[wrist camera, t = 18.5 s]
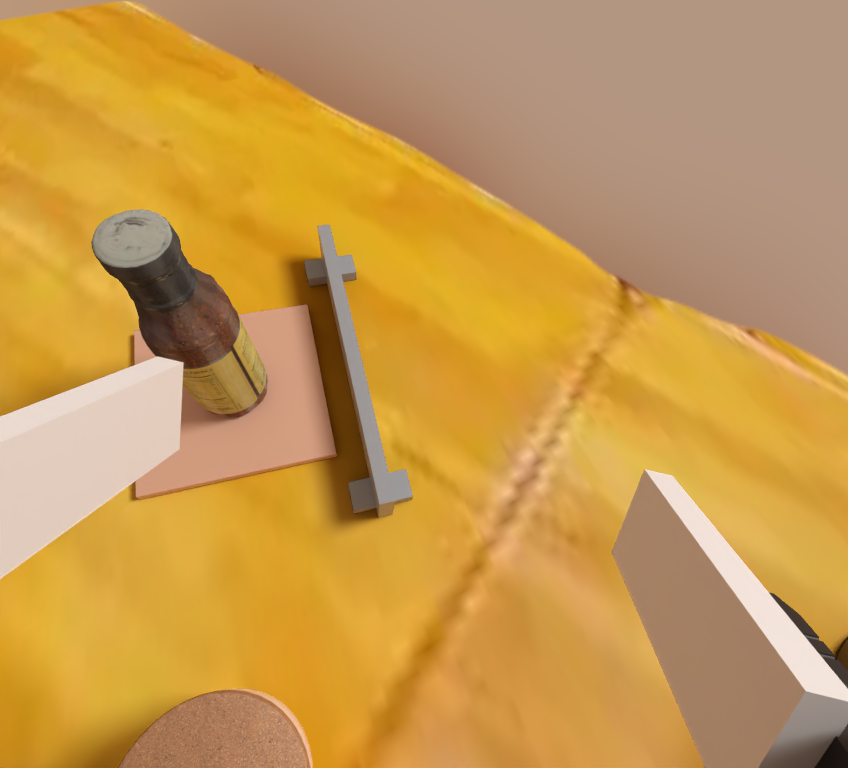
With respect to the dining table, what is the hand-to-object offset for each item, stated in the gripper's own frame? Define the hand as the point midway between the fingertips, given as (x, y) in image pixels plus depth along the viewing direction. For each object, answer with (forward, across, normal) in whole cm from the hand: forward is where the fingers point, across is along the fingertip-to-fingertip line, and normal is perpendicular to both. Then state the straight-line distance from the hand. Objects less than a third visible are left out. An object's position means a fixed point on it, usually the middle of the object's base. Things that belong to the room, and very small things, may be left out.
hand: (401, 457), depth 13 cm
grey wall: (+31, +8, +8) cm, 33 cm away
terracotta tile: (+27, +18, +12) cm, 34 cm away
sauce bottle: (+27, +17, +11) cm, 34 cm away
